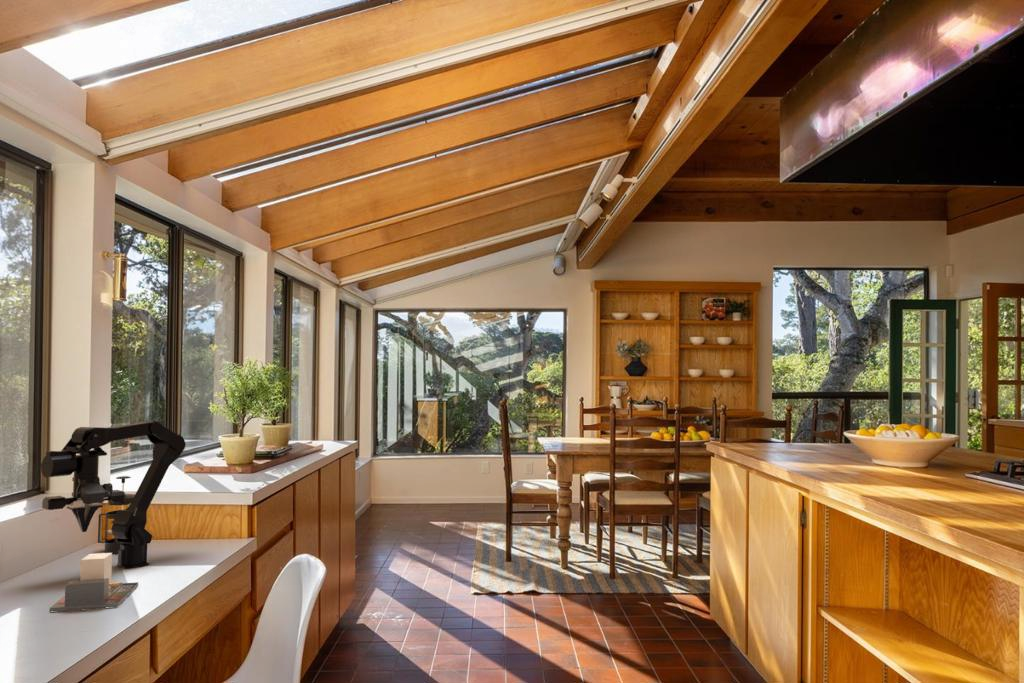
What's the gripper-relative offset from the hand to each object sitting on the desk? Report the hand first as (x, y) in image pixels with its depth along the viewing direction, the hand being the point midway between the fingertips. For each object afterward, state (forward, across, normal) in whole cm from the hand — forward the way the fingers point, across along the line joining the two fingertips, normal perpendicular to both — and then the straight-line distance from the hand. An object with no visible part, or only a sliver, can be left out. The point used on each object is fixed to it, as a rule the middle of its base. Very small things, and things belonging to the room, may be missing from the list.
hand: (83, 531), depth 191 cm
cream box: (+11, -5, -25) cm, 28 cm away
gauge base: (+12, -4, -24) cm, 27 cm away
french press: (+12, +18, +25) cm, 33 cm away
